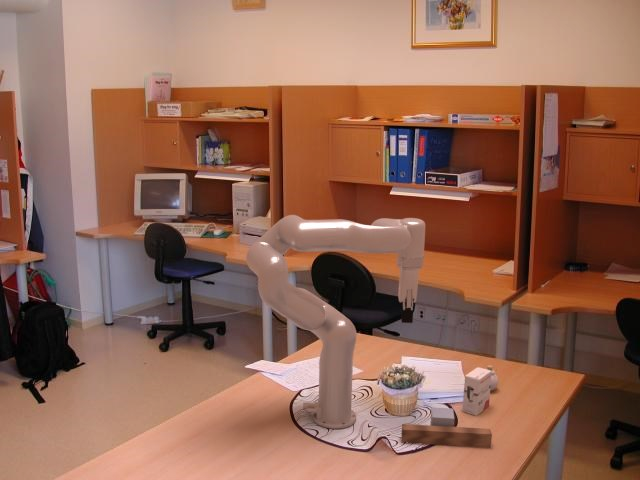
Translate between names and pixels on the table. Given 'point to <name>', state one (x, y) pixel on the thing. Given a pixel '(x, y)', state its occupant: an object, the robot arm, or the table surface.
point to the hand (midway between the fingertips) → (406, 321)
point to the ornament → (493, 378)
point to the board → (446, 435)
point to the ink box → (477, 391)
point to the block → (442, 417)
